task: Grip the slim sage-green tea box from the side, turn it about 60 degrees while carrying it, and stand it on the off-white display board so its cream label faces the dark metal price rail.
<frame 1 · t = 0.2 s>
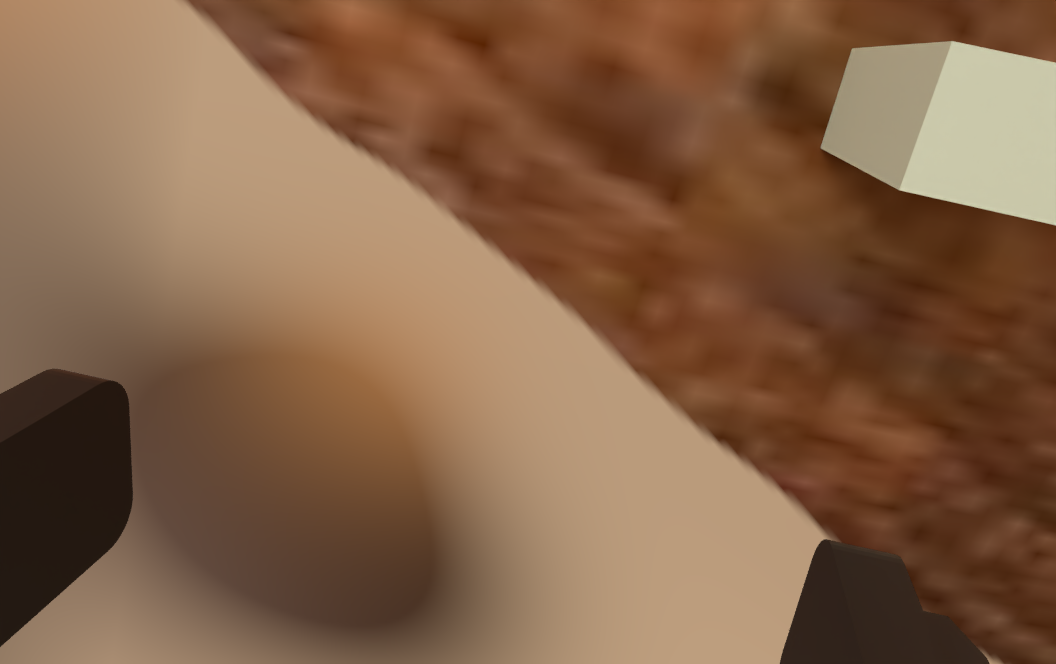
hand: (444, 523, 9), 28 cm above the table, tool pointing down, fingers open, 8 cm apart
tea box: (903, 113, 33), on the table
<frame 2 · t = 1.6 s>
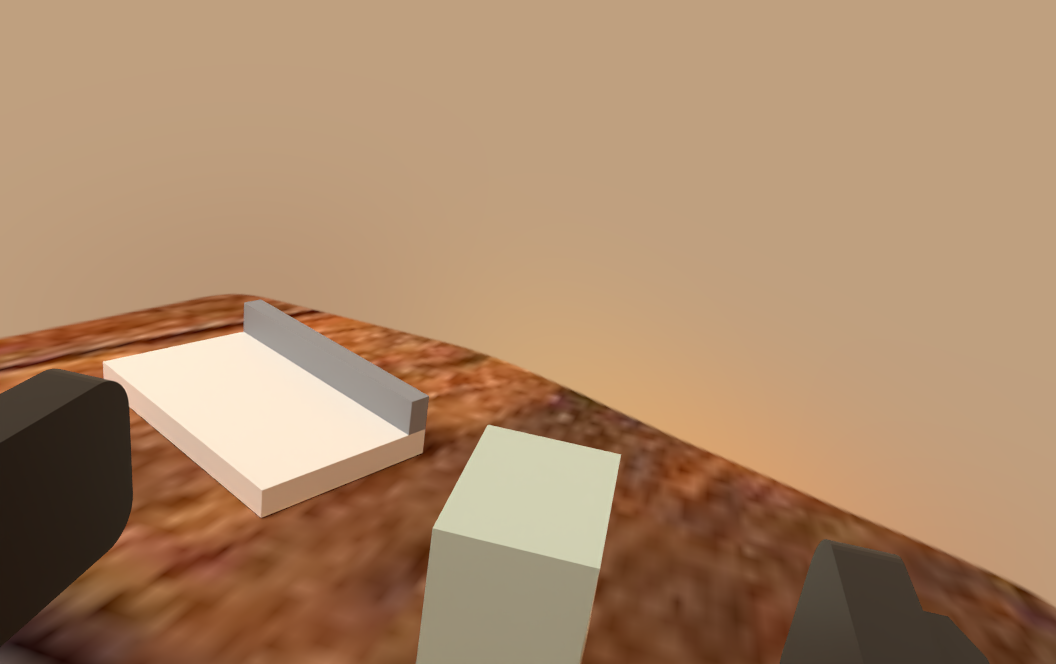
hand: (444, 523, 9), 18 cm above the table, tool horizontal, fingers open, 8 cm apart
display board: (260, 418, 46), on the table
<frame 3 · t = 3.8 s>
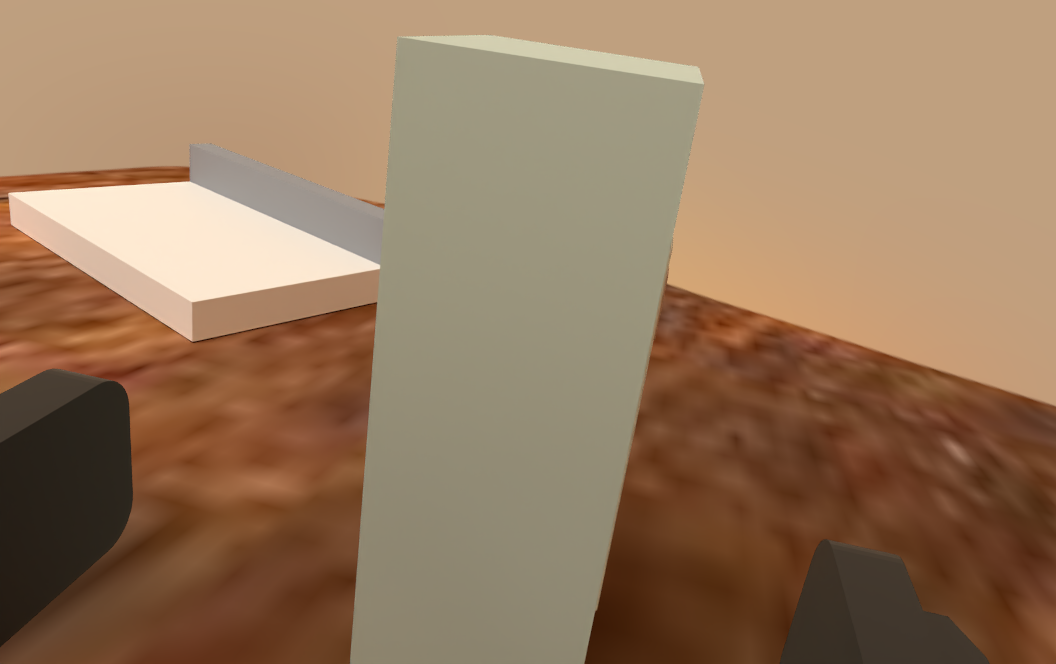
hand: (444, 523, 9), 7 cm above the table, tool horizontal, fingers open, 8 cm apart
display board: (203, 259, 38), on the table
tea box: (485, 648, 17), on the table
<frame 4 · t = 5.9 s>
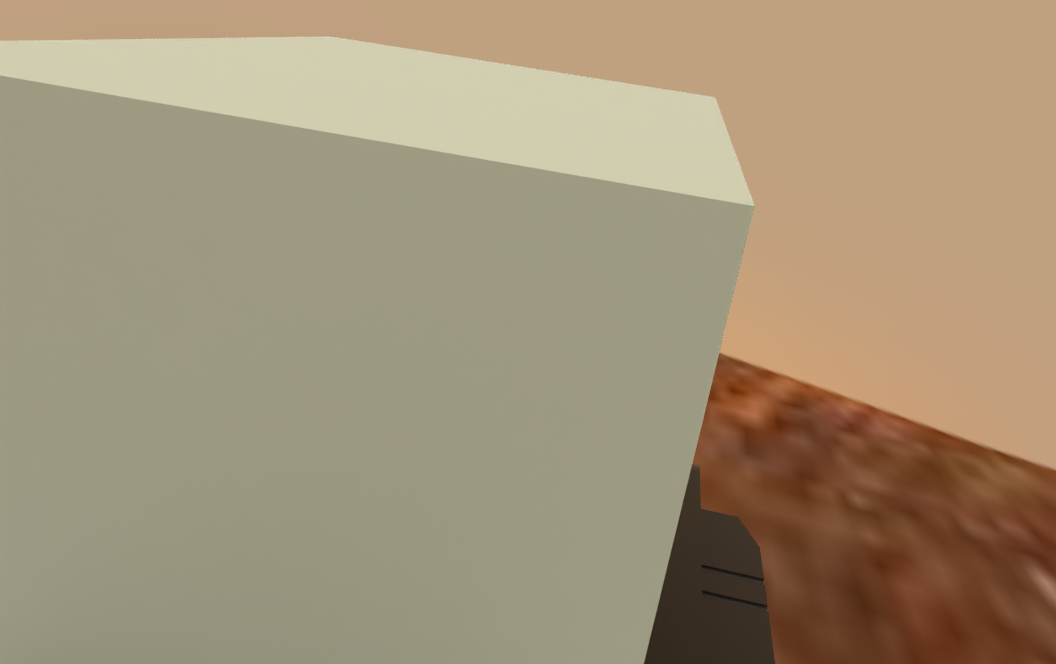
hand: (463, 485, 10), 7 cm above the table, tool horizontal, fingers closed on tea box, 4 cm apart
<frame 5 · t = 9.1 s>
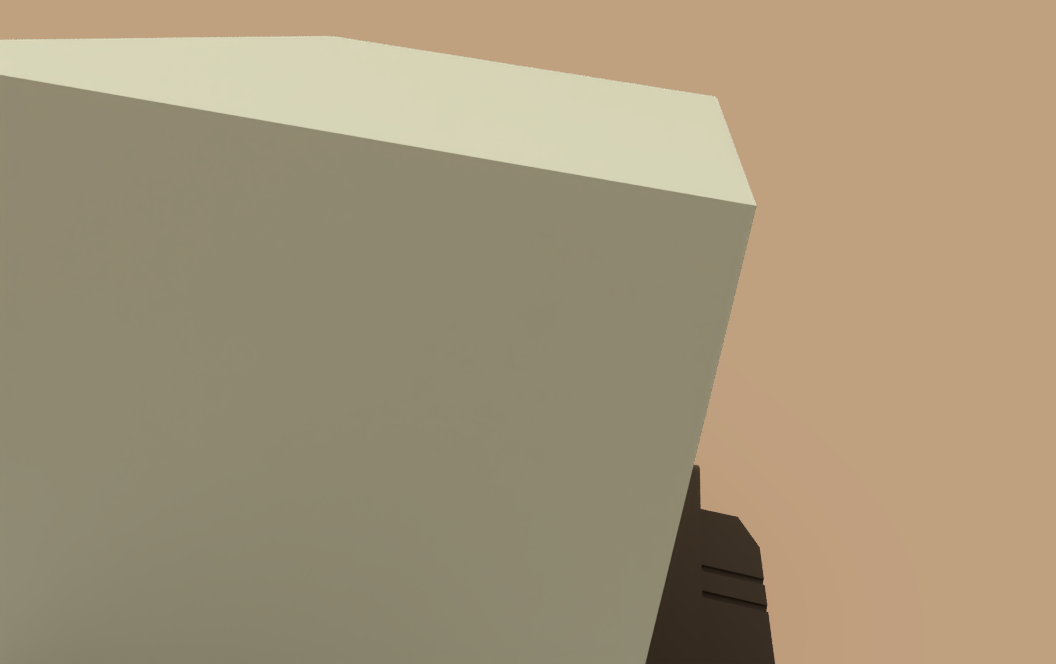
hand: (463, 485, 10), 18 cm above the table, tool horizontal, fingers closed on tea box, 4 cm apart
when the fingers open (10 cm above the table, at t = 12.1 s): tea box drops 1 cm, resting on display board.
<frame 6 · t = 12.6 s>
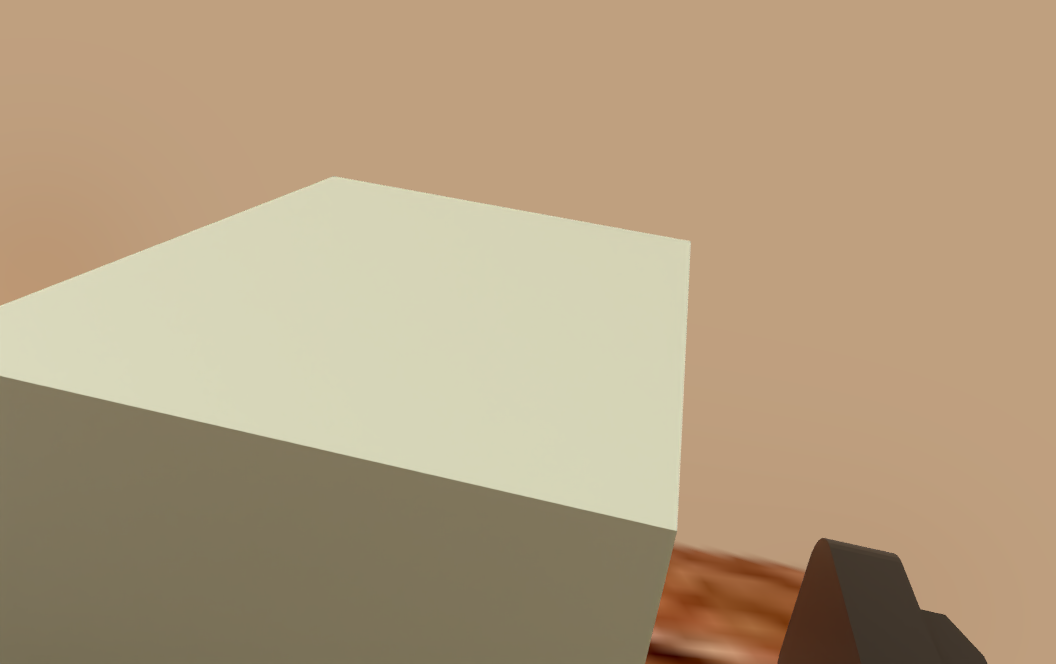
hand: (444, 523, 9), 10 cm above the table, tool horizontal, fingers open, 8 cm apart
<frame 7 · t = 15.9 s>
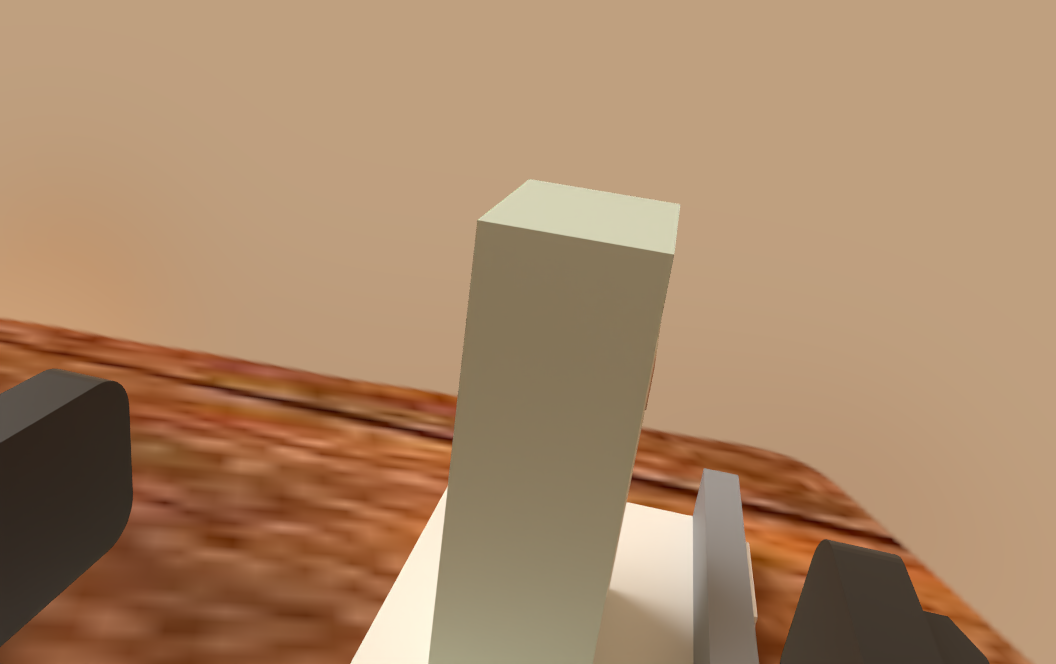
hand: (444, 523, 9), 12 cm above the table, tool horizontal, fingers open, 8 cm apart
tea box: (524, 629, 23), point 1 cm above the table, touching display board
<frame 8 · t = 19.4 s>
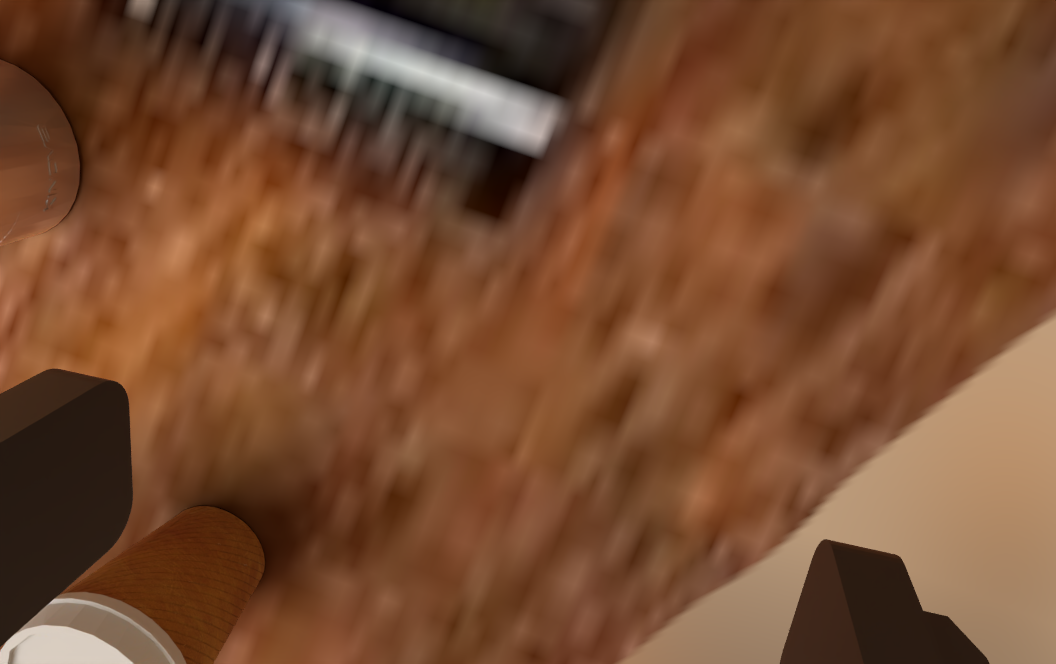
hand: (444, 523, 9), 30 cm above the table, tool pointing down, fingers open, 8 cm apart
disposable coffee cup: (218, 549, 50), on the table
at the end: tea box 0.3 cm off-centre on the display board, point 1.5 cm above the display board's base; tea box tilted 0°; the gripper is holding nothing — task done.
